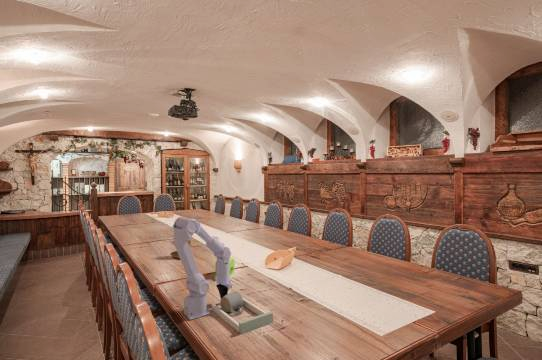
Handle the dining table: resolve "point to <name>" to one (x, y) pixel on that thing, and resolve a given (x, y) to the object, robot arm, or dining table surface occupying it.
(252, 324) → the grey u-shaped frame
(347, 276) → the dining table surface
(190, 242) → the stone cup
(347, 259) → the dining table surface
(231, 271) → the green rounded oblong piece
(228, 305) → the ceramic mug
